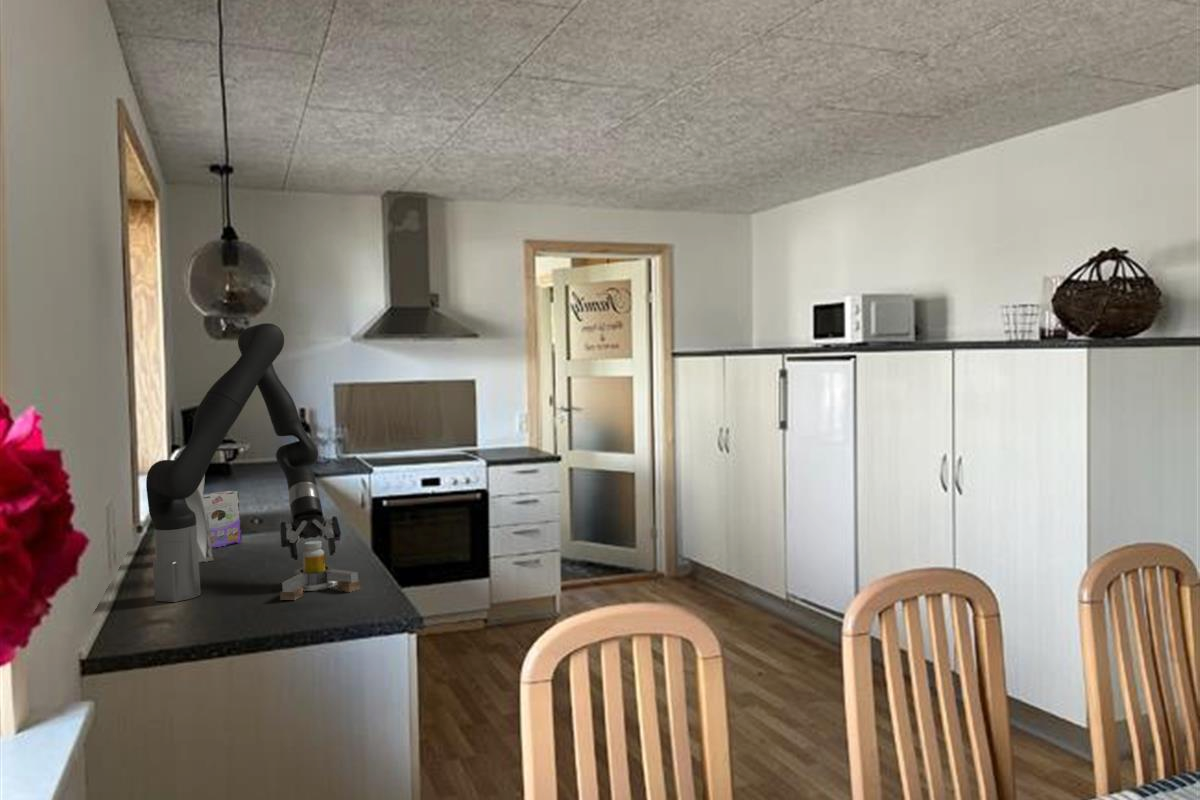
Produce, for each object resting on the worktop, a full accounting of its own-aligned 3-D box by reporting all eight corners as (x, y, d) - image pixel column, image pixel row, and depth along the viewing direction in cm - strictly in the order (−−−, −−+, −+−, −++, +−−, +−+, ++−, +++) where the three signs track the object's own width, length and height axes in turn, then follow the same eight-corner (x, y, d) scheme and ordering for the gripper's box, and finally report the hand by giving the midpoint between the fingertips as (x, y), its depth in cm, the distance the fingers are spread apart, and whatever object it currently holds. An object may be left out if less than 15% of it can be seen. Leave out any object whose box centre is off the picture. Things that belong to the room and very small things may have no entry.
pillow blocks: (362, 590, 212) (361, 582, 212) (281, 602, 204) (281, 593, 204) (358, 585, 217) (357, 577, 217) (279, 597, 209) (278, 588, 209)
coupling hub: (320, 593, 211) (319, 576, 211) (279, 590, 215) (278, 574, 215) (349, 580, 223) (349, 564, 223) (310, 578, 227) (309, 562, 226)
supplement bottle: (299, 581, 219) (297, 542, 219) (319, 576, 223) (317, 539, 223) (310, 584, 215) (308, 545, 215) (330, 579, 219) (328, 541, 219)
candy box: (232, 541, 279) (229, 489, 278) (242, 543, 275) (239, 491, 274) (189, 549, 268) (186, 496, 267) (198, 552, 264) (195, 497, 263)
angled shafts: (326, 594, 202) (326, 585, 202) (277, 591, 206) (277, 582, 206) (361, 579, 215) (360, 570, 215) (314, 576, 219) (314, 568, 219)
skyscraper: (213, 562, 249) (207, 464, 248) (182, 566, 246) (175, 466, 244) (212, 556, 257) (207, 461, 255) (182, 560, 253) (176, 463, 252)
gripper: (276, 497, 222) (284, 551, 212) (334, 491, 228) (345, 543, 218) (275, 515, 227) (283, 568, 217) (332, 509, 233) (342, 560, 223)
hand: (314, 556), depth 217 cm, fingers open, 8 cm apart
